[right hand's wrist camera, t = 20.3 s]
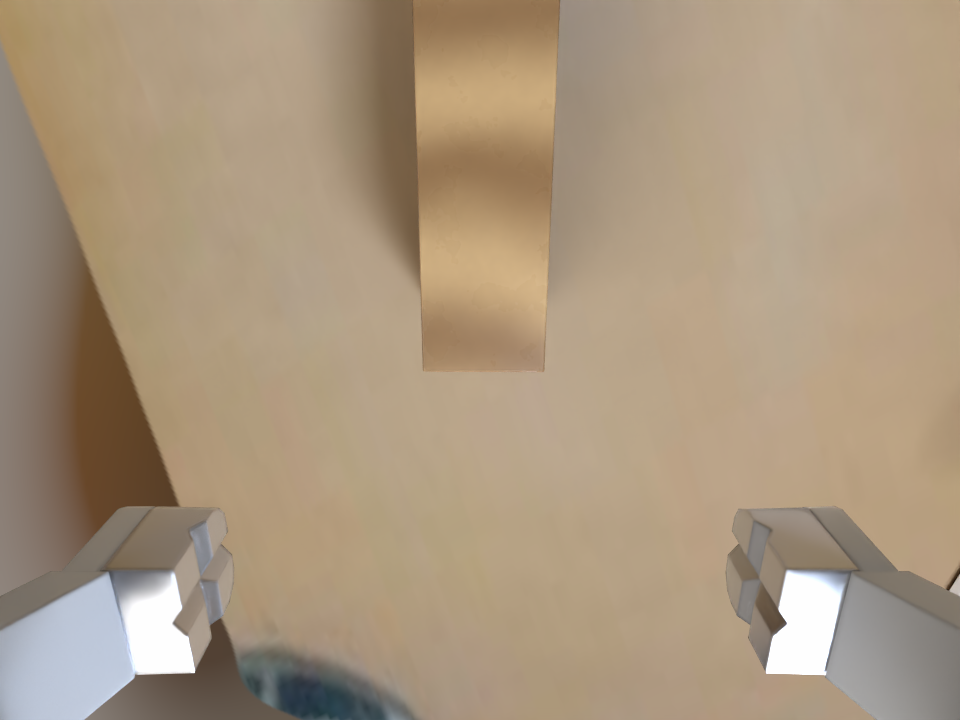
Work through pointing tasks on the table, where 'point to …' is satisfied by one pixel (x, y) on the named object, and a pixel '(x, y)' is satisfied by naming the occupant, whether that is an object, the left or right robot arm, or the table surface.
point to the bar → (484, 179)
